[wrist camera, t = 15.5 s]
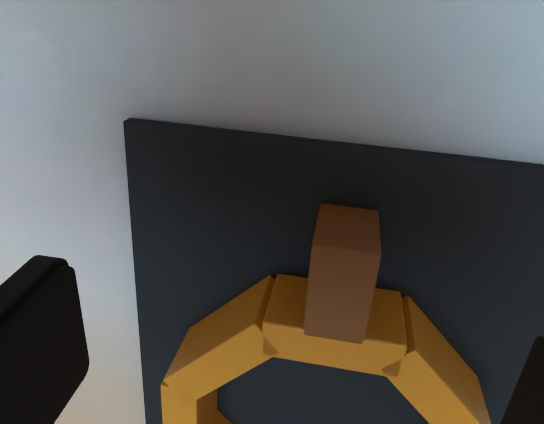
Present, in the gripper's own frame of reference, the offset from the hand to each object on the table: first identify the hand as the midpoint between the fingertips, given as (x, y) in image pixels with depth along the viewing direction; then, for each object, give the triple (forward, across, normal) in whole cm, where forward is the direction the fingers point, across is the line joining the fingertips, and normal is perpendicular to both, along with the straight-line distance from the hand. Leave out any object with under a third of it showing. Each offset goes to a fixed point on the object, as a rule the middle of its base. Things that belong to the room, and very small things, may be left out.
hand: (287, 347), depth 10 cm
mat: (+8, -1, +9) cm, 12 cm away
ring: (+7, -1, +8) cm, 11 cm away
